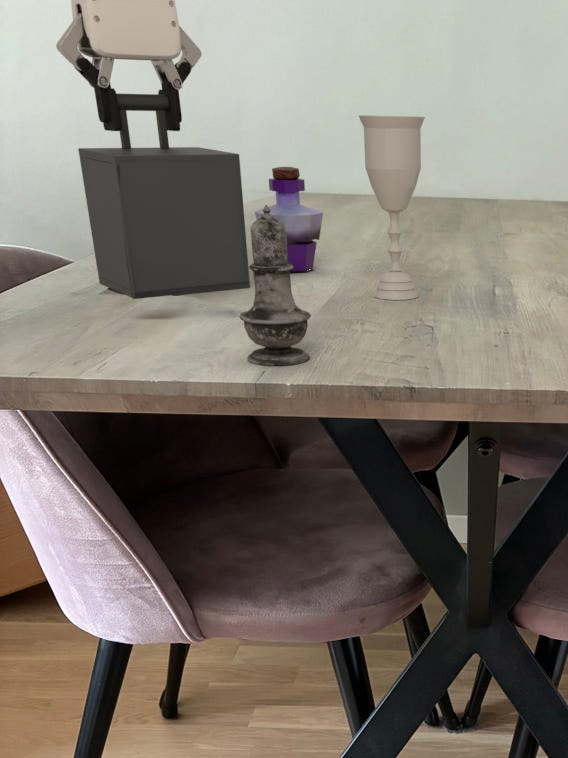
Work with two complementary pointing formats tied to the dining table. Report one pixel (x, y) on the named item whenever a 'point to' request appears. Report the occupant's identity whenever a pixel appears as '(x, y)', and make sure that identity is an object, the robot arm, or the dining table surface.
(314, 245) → the potion bottle
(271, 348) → the salt shaker
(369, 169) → the chalice
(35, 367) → the dining table surface
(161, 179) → the dark grey rectangular box
